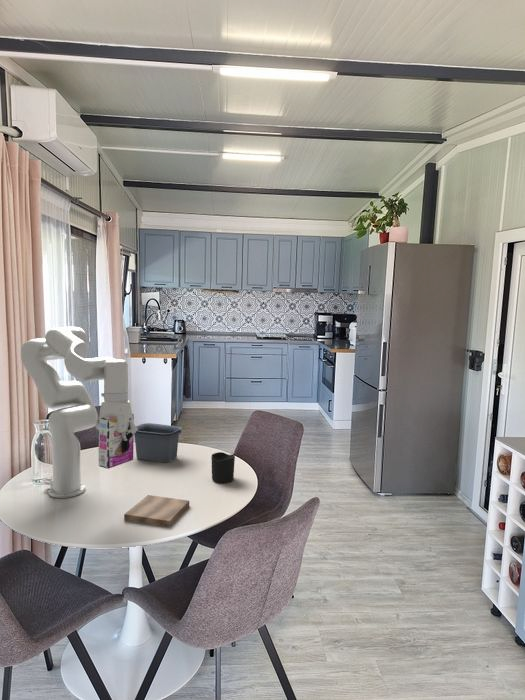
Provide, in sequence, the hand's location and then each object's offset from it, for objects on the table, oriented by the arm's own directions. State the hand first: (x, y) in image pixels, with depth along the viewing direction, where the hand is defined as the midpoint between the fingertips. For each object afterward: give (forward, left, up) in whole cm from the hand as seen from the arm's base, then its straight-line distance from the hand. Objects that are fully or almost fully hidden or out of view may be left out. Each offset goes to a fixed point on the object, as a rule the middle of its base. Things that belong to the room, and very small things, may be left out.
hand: (116, 449), depth 155 cm
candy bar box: (0, 0, -5) cm, 5 cm away
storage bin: (-13, +55, -22) cm, 60 cm away
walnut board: (+13, +4, -22) cm, 26 cm away
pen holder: (+24, +39, -22) cm, 51 cm away
